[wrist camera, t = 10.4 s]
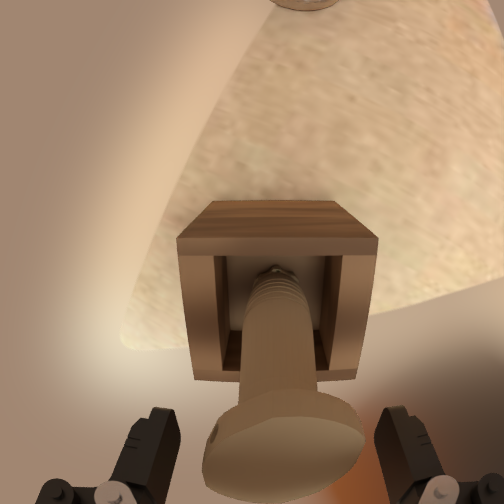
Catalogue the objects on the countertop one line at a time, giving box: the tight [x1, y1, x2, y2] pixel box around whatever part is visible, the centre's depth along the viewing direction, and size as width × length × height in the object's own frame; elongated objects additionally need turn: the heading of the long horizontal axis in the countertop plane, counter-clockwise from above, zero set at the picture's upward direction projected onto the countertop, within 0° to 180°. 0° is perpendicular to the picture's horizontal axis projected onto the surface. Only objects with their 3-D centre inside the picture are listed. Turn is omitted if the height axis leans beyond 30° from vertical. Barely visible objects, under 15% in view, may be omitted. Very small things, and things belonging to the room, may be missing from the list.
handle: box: [202, 265, 366, 504], centre depth 16 cm, size 5×6×15 cm
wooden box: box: [176, 200, 378, 382], centre depth 24 cm, size 10×11×12 cm
